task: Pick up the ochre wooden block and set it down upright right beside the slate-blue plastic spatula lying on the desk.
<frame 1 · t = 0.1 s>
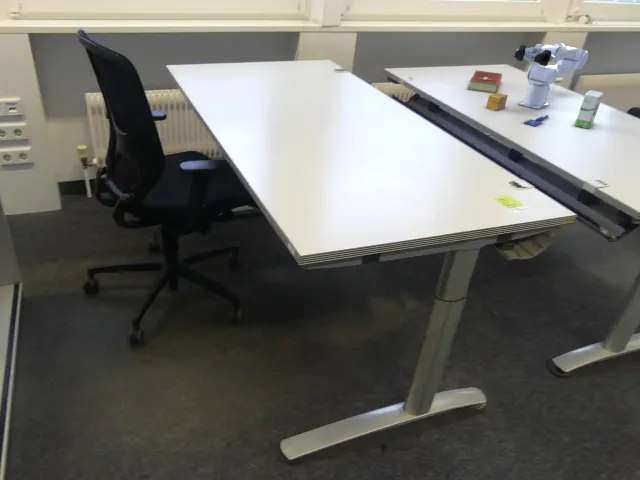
hand: (525, 56, 204), 22 cm above the table, tool horizontal, fingers open, 7 cm apart
ink box: (583, 125, 208), on the table
hardcover book: (484, 86, 250), on the table
block: (495, 107, 222), on the table
spatula: (537, 121, 209), on the table
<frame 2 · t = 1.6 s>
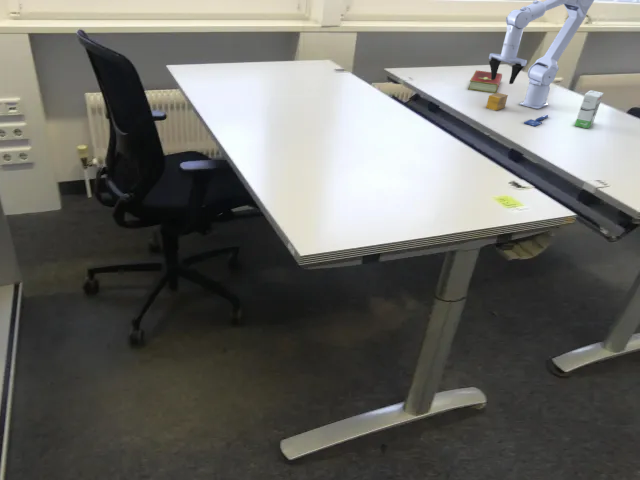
hand: (502, 81, 217), 10 cm above the table, tool pointing down, fingers open, 7 cm apart
nothing on the table moved.
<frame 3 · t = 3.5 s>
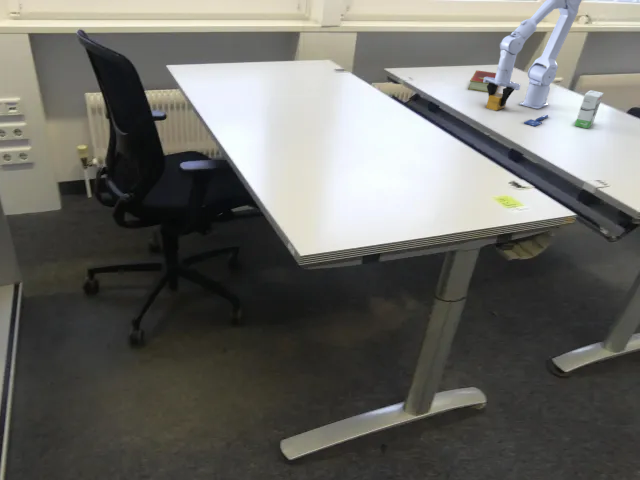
hand: (496, 104, 222), 1 cm above the table, tool pointing down, fingers closed on block, 4 cm apart
block: (495, 107, 222), on the table, touching gripper
everything else where it was.
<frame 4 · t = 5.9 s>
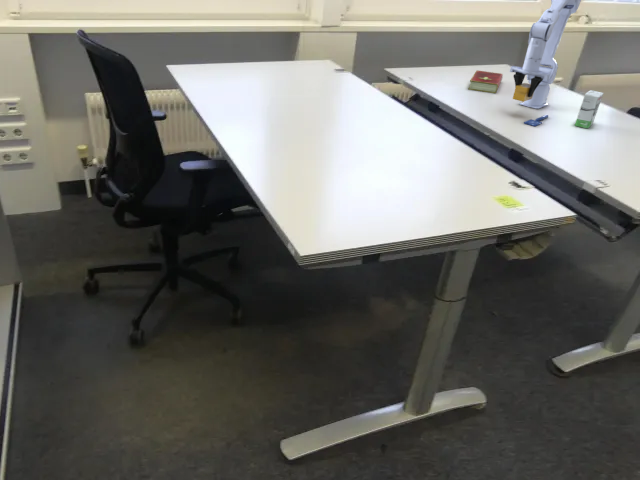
hand: (523, 95, 210), 8 cm above the table, tool pointing down, fingers closed on block, 4 cm apart
block: (522, 98, 211), point 7 cm above the table, touching gripper
everything else where it was.
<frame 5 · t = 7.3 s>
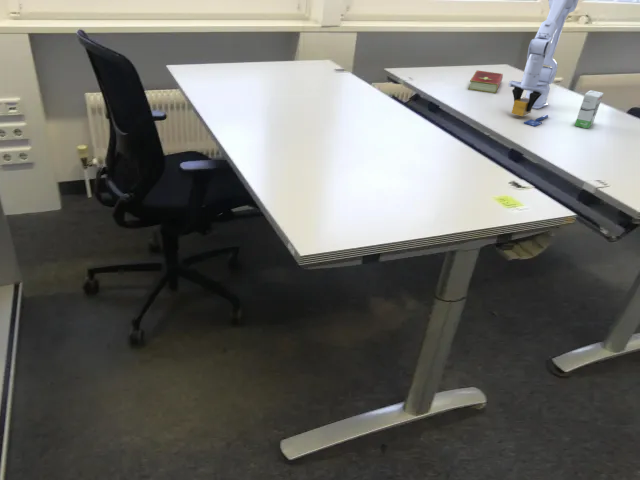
hand: (521, 109, 212), 3 cm above the table, tool pointing down, fingers closed on block, 4 cm apart
block: (521, 113, 213), point 1 cm above the table, touching gripper
everything else where it was.
when the fingers open (1 cm above the table, at t = 8.3 s): block stays where it is, on the table.
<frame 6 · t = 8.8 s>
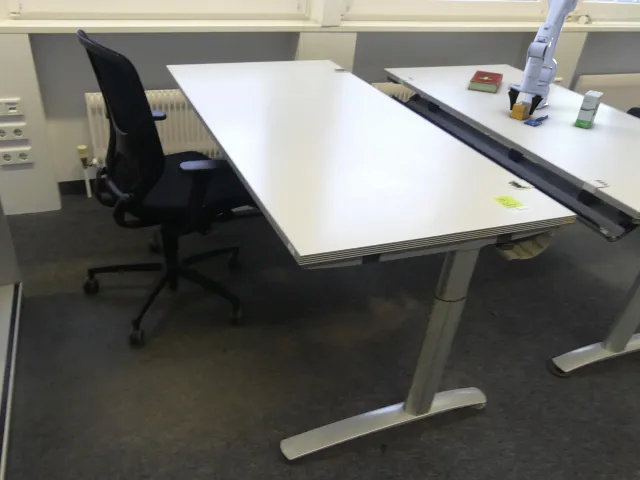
hand: (521, 112, 212), 2 cm above the table, tool pointing down, fingers open, 7 cm apart
block: (519, 116, 213), on the table
everything else where it was.
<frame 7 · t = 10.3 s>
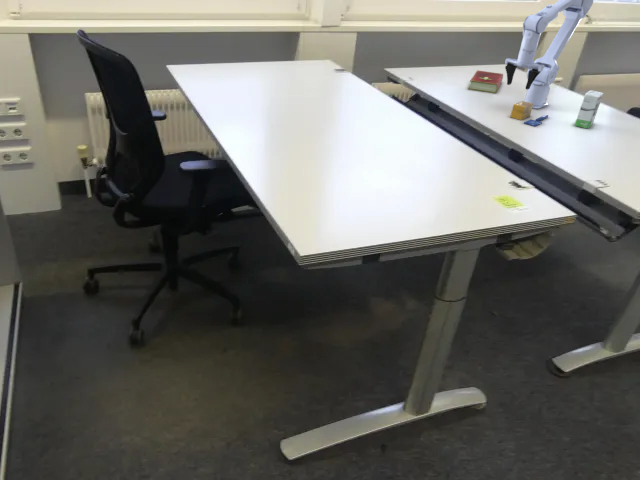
hand: (518, 86, 215), 9 cm above the table, tool pointing down, fingers open, 7 cm apart
nothing on the table moved.
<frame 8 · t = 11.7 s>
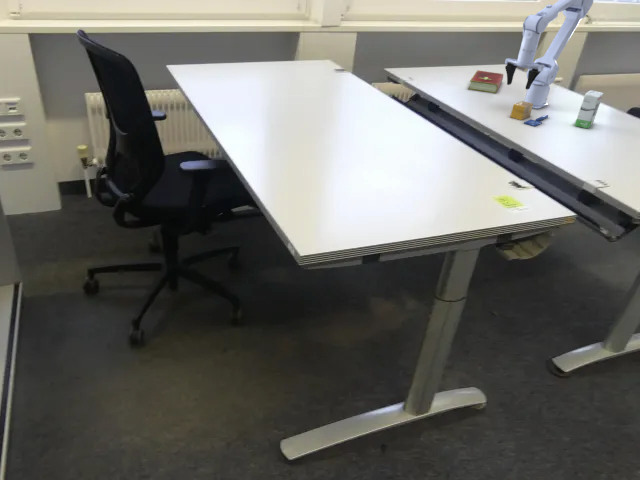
hand: (518, 86, 215), 9 cm above the table, tool pointing down, fingers open, 7 cm apart
nothing on the table moved.
at the end: block 7.0 cm from the spatula (horizontally); block tilted 0°; the gripper is holding nothing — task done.
